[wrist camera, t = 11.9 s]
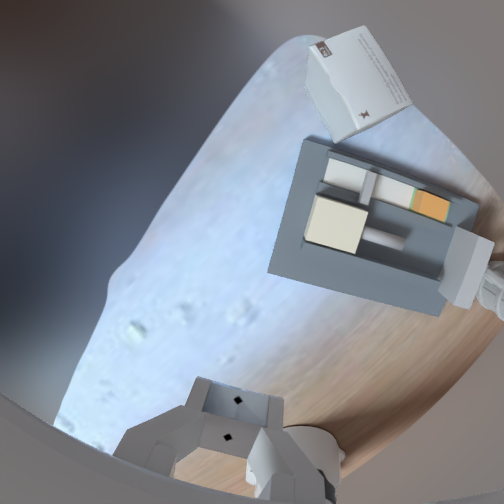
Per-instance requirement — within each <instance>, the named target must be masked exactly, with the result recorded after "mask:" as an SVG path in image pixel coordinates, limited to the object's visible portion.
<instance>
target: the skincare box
mask: <svg viewBox="0 0 504 504" xmlns="http://www.w3.org/2000/svg"><path fill="white" fill-rule="evenodd" d="M304 90H305V92H306V94H307V96H308V98H309V99H310V101H311V103H312V105H313V106H314V108H315V110H316V112H317V113H318V115H319V117H320V119H321V120H322V122H323V124H324V126H325V127H326V129H327V131H328V132H329V134H330V136H331V138H332V140H333V142H334V143H335V144H336V143H339V142H341V141H343V140H345V139H347V138H350V137H352V136H354V135H356V134H358V133H361V132H363V131H365V130H367V129H369V128H371V127H373V126H375V125H377V124H379V123H381V122H382V121H384V120H386V119H387V118H389V117H391V116H393V115H395V114H397V113H398V112H400V111H402V110H403V109H405V108H407V107H408V106H410V105H412V104H413V102H412V100H411V98H410V96H409V94H408V92H407V91H406V89H405V87H404V85H403V83H402V82H401V80H400V78H399V77H398V75H397V73H396V71H395V70H394V68H393V66H392V65H391V63H390V61H389V60H388V58H387V57H386V55H385V54H384V53H383V51H382V49H381V47H380V46H379V45H378V43H377V42H376V40H375V39H374V37H373V36H372V34H371V33H370V32H369V30H368V29H367V27H366V26H365V25H364V26H361V27H358V28H355V29H352V30H350V31H347V32H344V33H342V34H339V35H337V36H334V37H331V38H329V39H326V40H324V41H321V42H318V43H316V44H313V45H311V46H309V49H308V60H307V70H306V80H305V89H304Z"/></svg>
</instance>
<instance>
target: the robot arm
mask: <svg viewBox="0 0 504 504" xmlns="http://www.w3.org/2000/svg"><path fill="white" fill-rule="evenodd" d="M283 413H284V399H283V398H282V397H276V396H271V395H265V394H261V393H256V392H252V391H248V390H244V389H240V388H236V387H233V386H229V385H226V384H223V383H219V382H216V381H213V380H212V381H211V380H209V379H205V378H202V377H199V376H198V377H197V378H196V380H195V382H194V385H193V387H192V389H191V392H190V394H189V397H188V399H187V402H186V404H185V406H182V405H180V406H177V407H175V408H173V409H171V410H169V411H167V412H165V413H163V414H161V415H159V416H157V417H154V418H152V419H150V420H148V421H146V422H143V423H141V424H139V425H137V426H134V427H132V428H130V429H128V430H127V431H126V432H125V434H124V436H123V438H122V439H121V441H120V443H119V445H118V446H117V448H116V450H115V452H114V453H113V455H110V454H108V453H106V452H104V451H101V450H99V449H97V448H95V447H93V446H91V445H89V444H87V443H84V442H82V441H80V440H78V439H77V438H75V437H73V436H71V435H69V434H67V433H65V432H63V431H61V430H60V429H58V428H56V427H54V426H52V425H51V424H49V423H47V422H46V421H44V420H42V419H40V418H39V417H37V416H36V415H34V414H32V413H31V412H29V411H27V410H26V409H24V408H23V407H21V406H20V405H18V404H17V403H15V402H14V401H12V400H11V399H9V398H8V397H7V396H5V395H4V394H2V393H1V392H0V504H336V500H337V498H336V493H335V489H336V488H337V487H338V486H340V482H341V474H340V463H341V462H342V461H343V460H344V459H345V452H344V451H343V450H341V449H340V448H339V447H338V445H337V442H336V439H335V438H334V437H333V436H332V435H331V434H330V433H329V432H327V431H325V430H322V429H319V428H316V427H310V426H294V427H287V428H283ZM198 447H201V448H205V449H209V450H213V451H217V452H222V453H225V454H229V455H233V456H237V457H241V458H245V459H247V467H246V481H247V482H248V483H250V484H252V485H254V486H255V494H254V495H255V497H256V498H252V497H247V496H241V495H236V494H232V493H227V492H223V491H218V490H214V489H210V488H206V487H202V486H199V485H195V484H191V483H188V482H184V481H181V480H178V479H175V478H173V477H174V471H175V465H176V463H177V462H179V461H180V460H181V459H183V458H184V457H186V456H187V455H189V454H190V453H191V452H193V451H194V450H195V449H197V448H198ZM422 504H423V503H422ZM424 504H504V488H500V489H497V490H493V491H490V492H485V493H481V494H477V495H472V496H467V497H462V498H457V499H451V500H445V501H438V502H431V503H424Z"/></svg>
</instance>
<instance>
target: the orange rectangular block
mask: <svg viewBox="0 0 504 504" xmlns="http://www.w3.org/2000/svg"><path fill="white" fill-rule="evenodd" d="M449 203H450V202H449V201H446V200H444V199H441V198H439V197H437V196H434V195H432V194H429V193H427V192H424V191H420V190H416V193H415V197H414V200H413V204H412V207H411V209H412V210H414V211H417V212H419V213H422V214H425V215H427V216H430V217H433V218H435V219H438V220H440V221H443V222H444V220H445V217H446V214H447V210H448V207H449Z"/></svg>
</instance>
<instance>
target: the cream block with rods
mask: <svg viewBox="0 0 504 504" xmlns="http://www.w3.org/2000/svg"><path fill="white" fill-rule="evenodd" d="M376 176H377V174H376V173H373V172H370V171H366V174H365V178H364V182H363V185H362V189H361V192H360V196H359V199H358V202H359V203H362V204H365V205H368V204H369V200H370V197H371V193H372V190H373V186H374V183H375V179H376ZM367 215H368V212H367V211H365V210H363V209H361V208H358V207H355V206H352V205H349V204H345V203H342V202H339V201H335V200H332V199H329V198H325V197H322V196H319V195H315V197H314V201H313V205H312V208H311V212H310V215H309V218H308V222H307V225H306V229H305V232H304V236H305V240H308V241H311V242H315V243H318V244H322V245H326V246H329V247H333V248H336V249H340V250H343V251H347V252H350V253H354V254H355V252H356V249H357V246H358V243H359V240H360V238H361V239H365V240H368V241H371V242H374V243H378V244H381V245H384V246H387V247H391V248H394V249H397V250H400V251H401V250H403V248H404V246H405V238H402V237H399V236H396V235H393V234H390V233H387V232H384V231H381V230H378V229H375V228H371V227H368V226H365V225H364V224H365V221H366V218H367Z"/></svg>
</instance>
